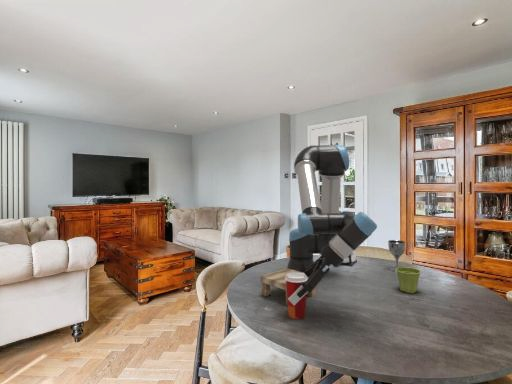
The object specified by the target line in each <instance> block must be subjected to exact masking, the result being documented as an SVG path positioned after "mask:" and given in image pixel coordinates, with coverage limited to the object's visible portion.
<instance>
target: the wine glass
mask: <svg viewBox="0 0 512 384" xmlns="http://www.w3.org/2000/svg"><path fill="white" fill-rule="evenodd" d="M387 243H388V250H389V253H390V254H391V255H392V256H393V257H394V259H395V260H394V261H395V266H396V267H393V268H391V267H390V269H389V271H391V272H395V273H397V271H396V268H398V267H399V259H400V258H401V257H402V256H403V255H404V253H405V250H406V241H404V240H400V239H399V240H397V239H396V240H395V239H390V240H388V242H387Z"/></svg>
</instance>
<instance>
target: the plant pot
mask: <svg viewBox="0 0 512 384" xmlns="http://www.w3.org/2000/svg"><path fill="white" fill-rule="evenodd" d="M395 268H396V267H395ZM396 271H397V272H396V274H397V279H398V284H399V285H398V286H399V290H400V291H401V292H404V293H407V294H414V293H417V292H418V291H417V290H418V284H419V278H420V275H421V274H422V271H421V270H420V269H418V268H414V267H408V266H400V267H399V266H398V268H396Z"/></svg>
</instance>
